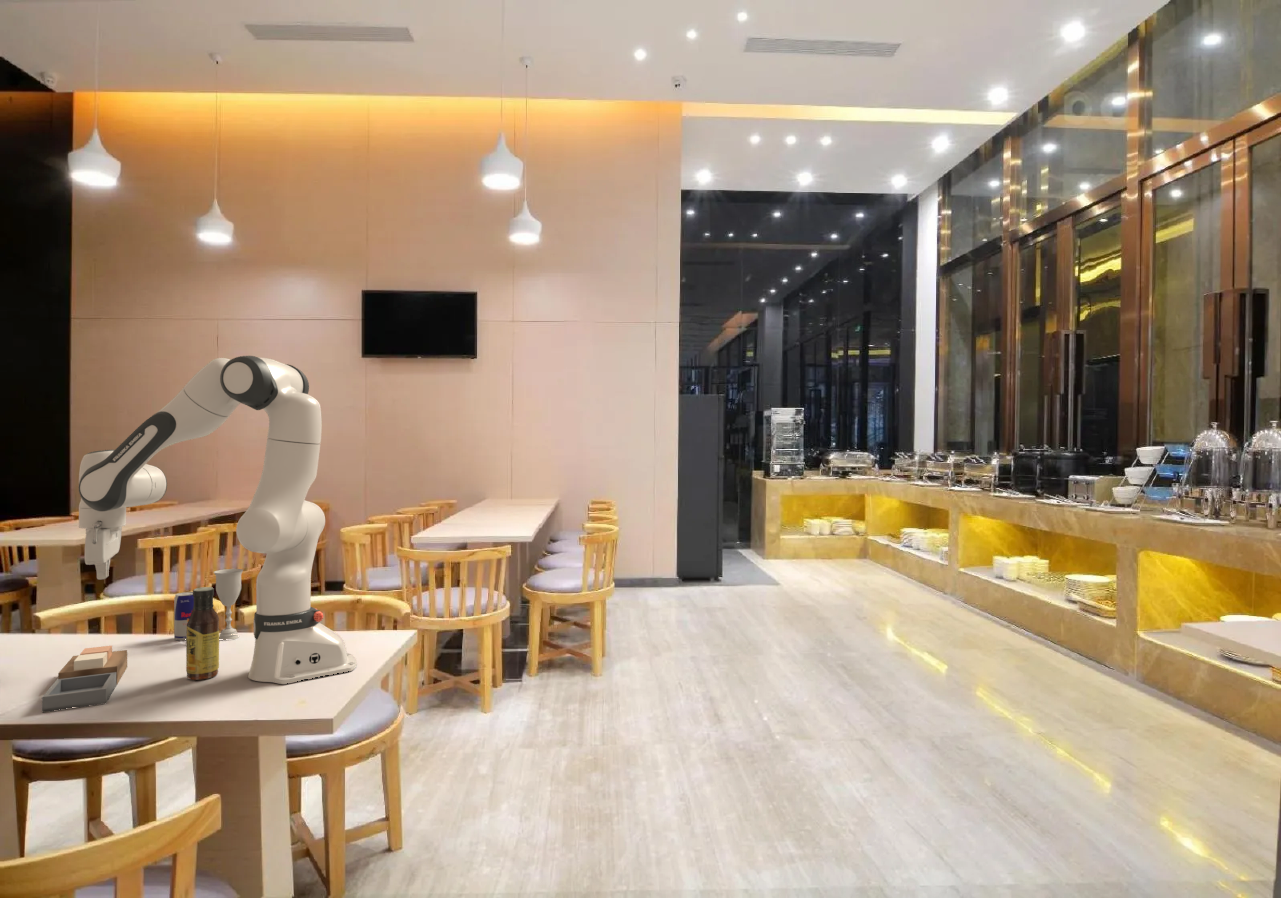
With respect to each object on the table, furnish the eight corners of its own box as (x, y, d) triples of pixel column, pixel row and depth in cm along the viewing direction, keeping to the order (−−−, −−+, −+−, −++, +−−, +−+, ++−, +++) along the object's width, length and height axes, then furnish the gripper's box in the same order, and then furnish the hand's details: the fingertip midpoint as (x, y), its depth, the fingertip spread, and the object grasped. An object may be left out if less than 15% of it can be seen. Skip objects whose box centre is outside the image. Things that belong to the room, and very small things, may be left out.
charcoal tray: (116, 686, 153) (116, 672, 153) (106, 703, 142) (105, 688, 142) (57, 693, 148) (57, 679, 148) (42, 712, 137) (42, 697, 137)
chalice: (248, 637, 192) (248, 570, 192) (222, 642, 186) (222, 574, 186) (234, 633, 196) (234, 568, 196) (208, 638, 190) (208, 571, 190)
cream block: (107, 661, 157) (107, 652, 157) (103, 667, 153) (103, 658, 153) (78, 664, 155) (78, 655, 155) (73, 670, 150) (73, 661, 150)
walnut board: (127, 667, 166) (127, 650, 166) (117, 684, 154) (117, 666, 154) (73, 673, 161) (73, 656, 161) (58, 692, 149) (58, 673, 149)
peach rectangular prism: (112, 654, 162) (112, 645, 162) (108, 660, 158) (108, 651, 158) (84, 657, 160) (84, 648, 160) (80, 663, 156) (79, 654, 156)
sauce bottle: (184, 676, 159) (184, 587, 159) (217, 671, 163) (217, 584, 163) (187, 684, 154) (187, 592, 154) (221, 678, 158) (221, 588, 158)
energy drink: (186, 641, 188) (186, 596, 188) (169, 640, 189) (169, 595, 189) (202, 636, 193) (202, 592, 193) (186, 635, 194) (185, 591, 194)
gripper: (111, 522, 158) (111, 585, 158) (126, 515, 176) (126, 570, 176) (75, 524, 155) (75, 587, 155) (94, 516, 173) (94, 572, 173)
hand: (102, 578), depth 166 cm, fingers closed
